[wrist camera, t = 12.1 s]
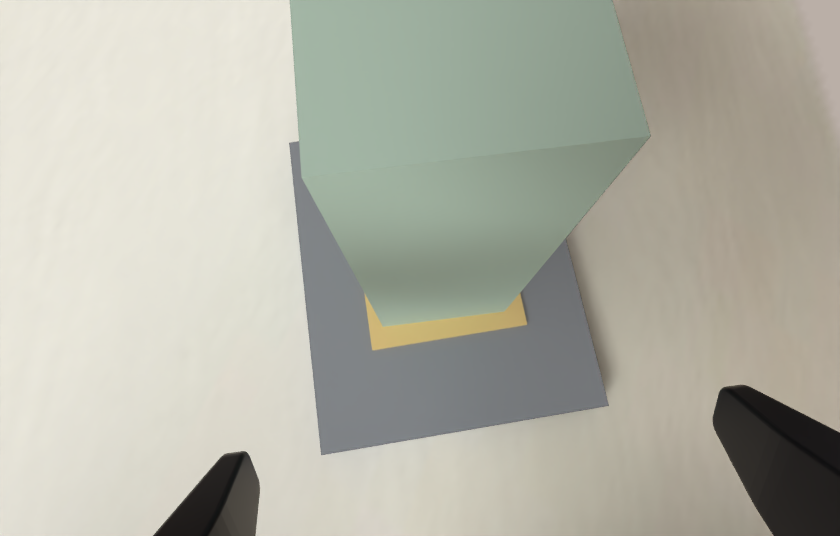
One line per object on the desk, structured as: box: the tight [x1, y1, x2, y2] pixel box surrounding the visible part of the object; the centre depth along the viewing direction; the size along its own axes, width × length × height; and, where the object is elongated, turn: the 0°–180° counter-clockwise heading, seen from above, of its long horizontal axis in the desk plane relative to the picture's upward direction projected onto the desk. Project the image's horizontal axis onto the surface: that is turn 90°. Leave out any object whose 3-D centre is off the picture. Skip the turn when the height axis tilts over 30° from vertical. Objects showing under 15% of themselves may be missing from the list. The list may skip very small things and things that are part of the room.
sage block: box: [290, 0, 651, 327], centre depth 13 cm, size 4×4×12 cm
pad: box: [289, 141, 609, 455], centre depth 19 cm, size 12×10×1 cm
